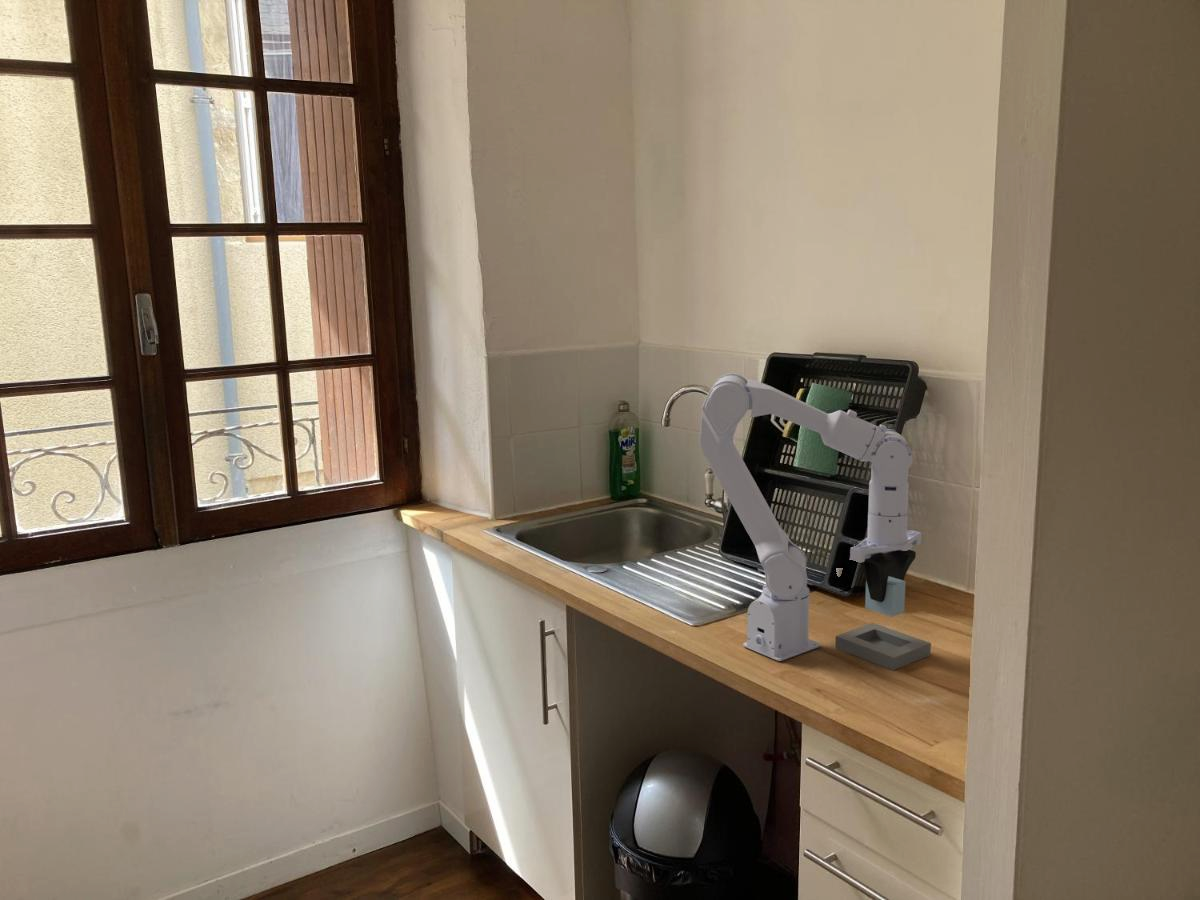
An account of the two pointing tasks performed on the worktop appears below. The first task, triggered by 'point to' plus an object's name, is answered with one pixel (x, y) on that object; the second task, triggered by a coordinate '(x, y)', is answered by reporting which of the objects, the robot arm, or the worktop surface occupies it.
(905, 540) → the robot arm
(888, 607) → the block
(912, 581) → the worktop surface
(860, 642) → the grey slotted base
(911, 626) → the worktop surface
